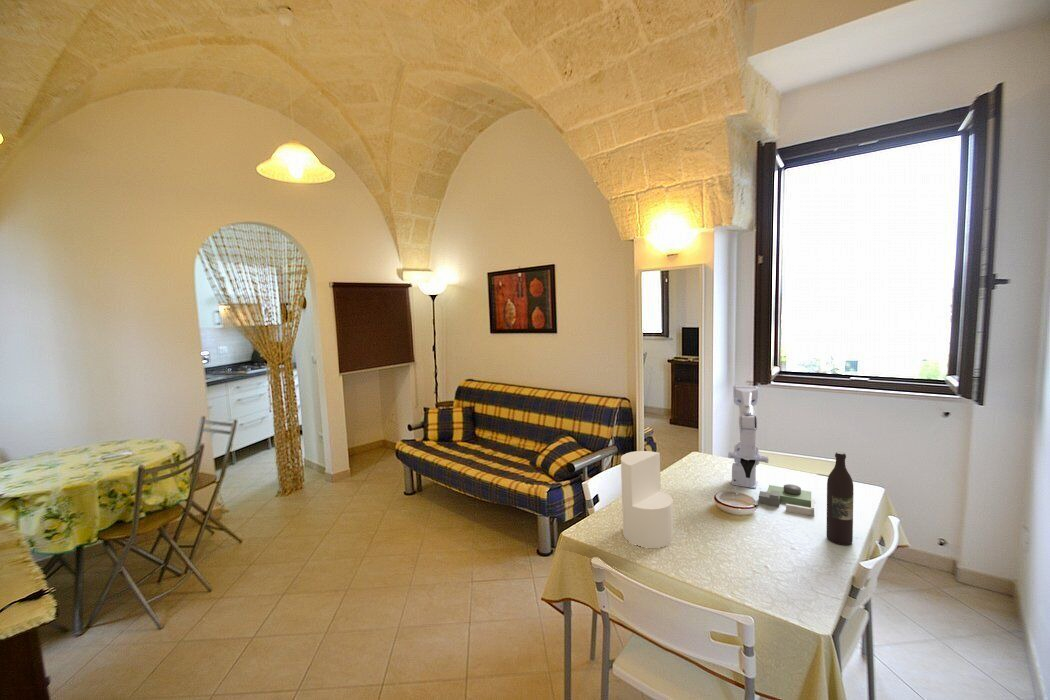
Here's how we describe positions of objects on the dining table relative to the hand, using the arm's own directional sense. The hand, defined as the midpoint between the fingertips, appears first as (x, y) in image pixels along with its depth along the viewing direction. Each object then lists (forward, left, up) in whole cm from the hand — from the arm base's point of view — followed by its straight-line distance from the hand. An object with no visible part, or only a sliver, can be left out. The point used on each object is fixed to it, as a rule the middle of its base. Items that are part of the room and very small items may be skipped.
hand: (748, 477), depth 175 cm
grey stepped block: (+8, 0, -10) cm, 12 cm away
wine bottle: (+30, -20, -10) cm, 37 cm away
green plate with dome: (+14, +4, -9) cm, 18 cm away
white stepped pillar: (-26, -47, -10) cm, 55 cm away
